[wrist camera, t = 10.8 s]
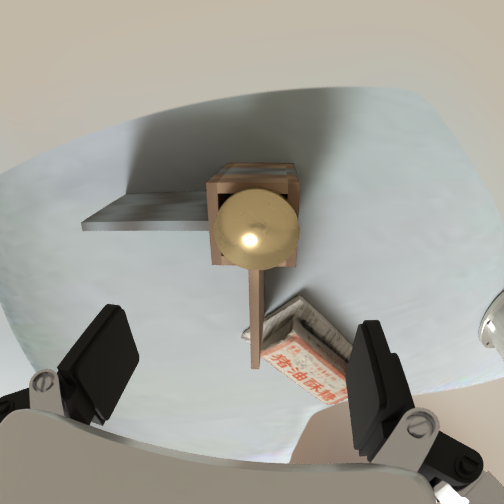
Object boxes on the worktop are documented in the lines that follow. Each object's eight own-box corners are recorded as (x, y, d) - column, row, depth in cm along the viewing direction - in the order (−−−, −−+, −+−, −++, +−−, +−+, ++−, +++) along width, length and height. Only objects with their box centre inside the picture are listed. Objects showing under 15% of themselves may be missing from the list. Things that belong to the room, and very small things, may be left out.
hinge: (293, 163, 28) (299, 183, 20) (287, 316, 36) (287, 370, 28) (122, 169, 30) (75, 191, 22) (147, 308, 38) (120, 353, 30)
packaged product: (378, 386, 35) (321, 415, 39) (372, 362, 40) (319, 391, 43) (301, 315, 31) (236, 356, 34) (299, 290, 35) (241, 330, 39)
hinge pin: (294, 167, 28) (300, 191, 19) (292, 224, 30) (296, 271, 22) (233, 166, 28) (211, 191, 20) (234, 223, 31) (216, 269, 22)
